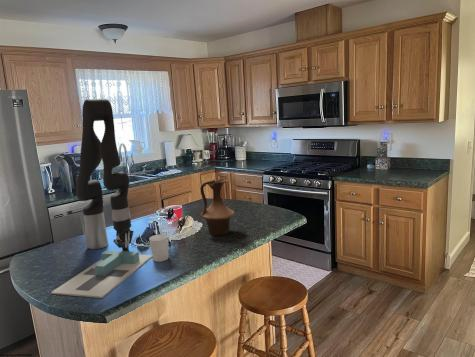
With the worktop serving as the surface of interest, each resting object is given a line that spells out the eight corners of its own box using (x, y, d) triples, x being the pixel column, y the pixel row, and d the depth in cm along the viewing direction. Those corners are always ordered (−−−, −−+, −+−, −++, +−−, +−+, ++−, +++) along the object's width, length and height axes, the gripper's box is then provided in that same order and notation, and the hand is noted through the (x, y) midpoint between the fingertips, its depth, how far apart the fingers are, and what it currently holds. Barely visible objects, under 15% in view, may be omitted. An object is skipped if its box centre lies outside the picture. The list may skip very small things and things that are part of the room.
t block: (84, 274, 150) (82, 265, 149) (108, 258, 165) (106, 250, 164) (117, 276, 145) (116, 267, 145) (139, 260, 161) (138, 251, 160)
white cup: (154, 264, 157) (151, 241, 155) (149, 258, 164) (147, 236, 162) (172, 259, 160) (169, 237, 159) (166, 253, 167) (164, 232, 166)
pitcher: (208, 240, 181) (203, 184, 176) (197, 230, 196) (192, 179, 191) (240, 233, 188) (237, 179, 182) (228, 224, 203) (224, 174, 198)
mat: (51, 293, 137) (51, 292, 136) (110, 254, 171) (110, 253, 171) (102, 298, 131) (102, 296, 130) (152, 256, 165) (152, 255, 165)
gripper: (122, 213, 168) (126, 248, 172) (104, 222, 156) (110, 260, 159) (136, 213, 167) (141, 249, 170) (120, 222, 154) (125, 261, 157)
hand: (126, 254), depth 165 cm, fingers closed
